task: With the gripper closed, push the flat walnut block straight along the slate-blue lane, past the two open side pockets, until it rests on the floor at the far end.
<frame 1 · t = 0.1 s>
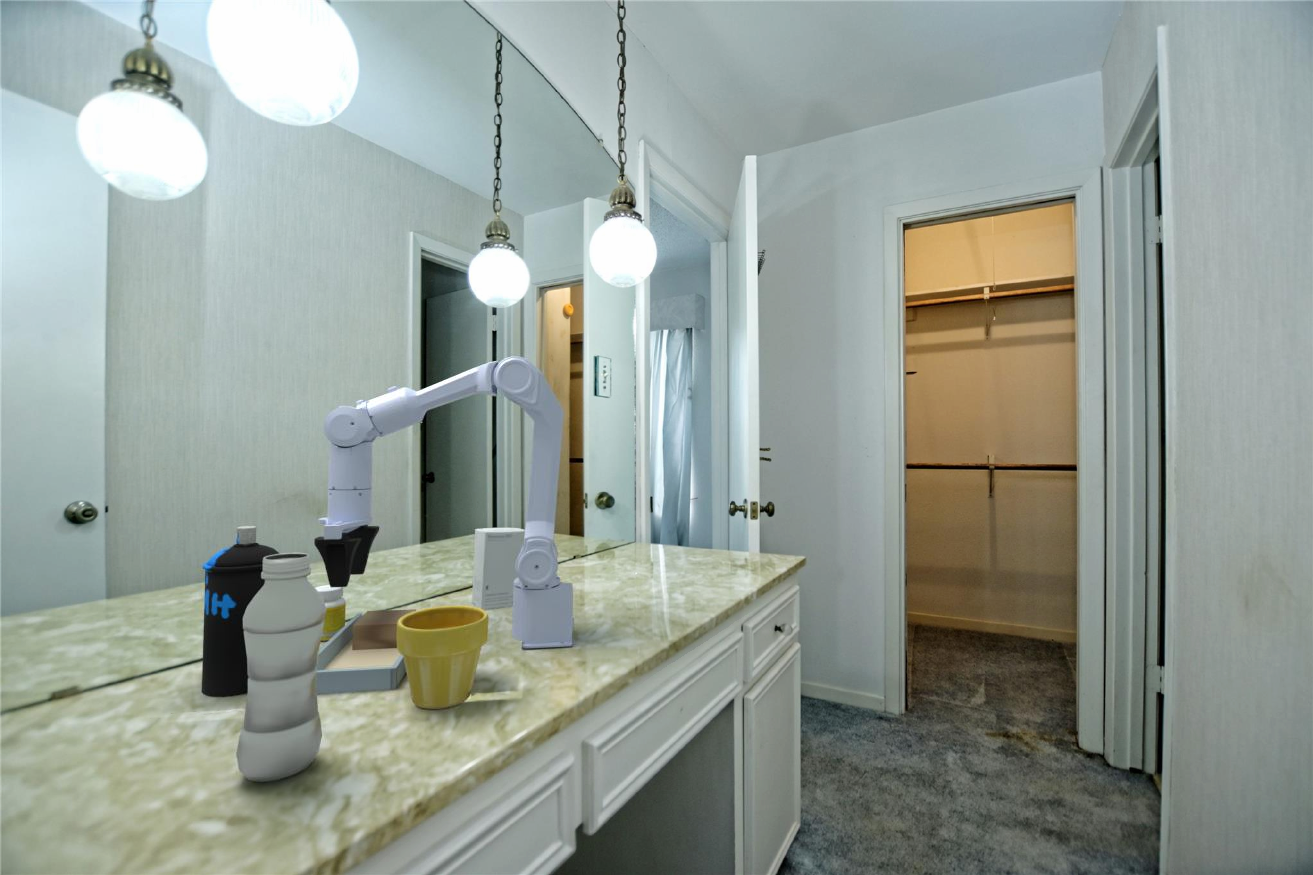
hand: (347, 580, 84), 10 cm above the worktop, tool pointing down, fingers open, 7 cm apart
plant pot: (441, 698, 68), on the worktop
plastic bottle: (280, 773, 52), on the worktop
aerosol can: (241, 692, 69), on the worktop
supplement bottle: (326, 644, 85), on the worktop
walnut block: (385, 640, 84), point 1 cm above the worktop, touching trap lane
skincare box: (498, 609, 105), on the worktop
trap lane: (377, 657, 80), on the worktop
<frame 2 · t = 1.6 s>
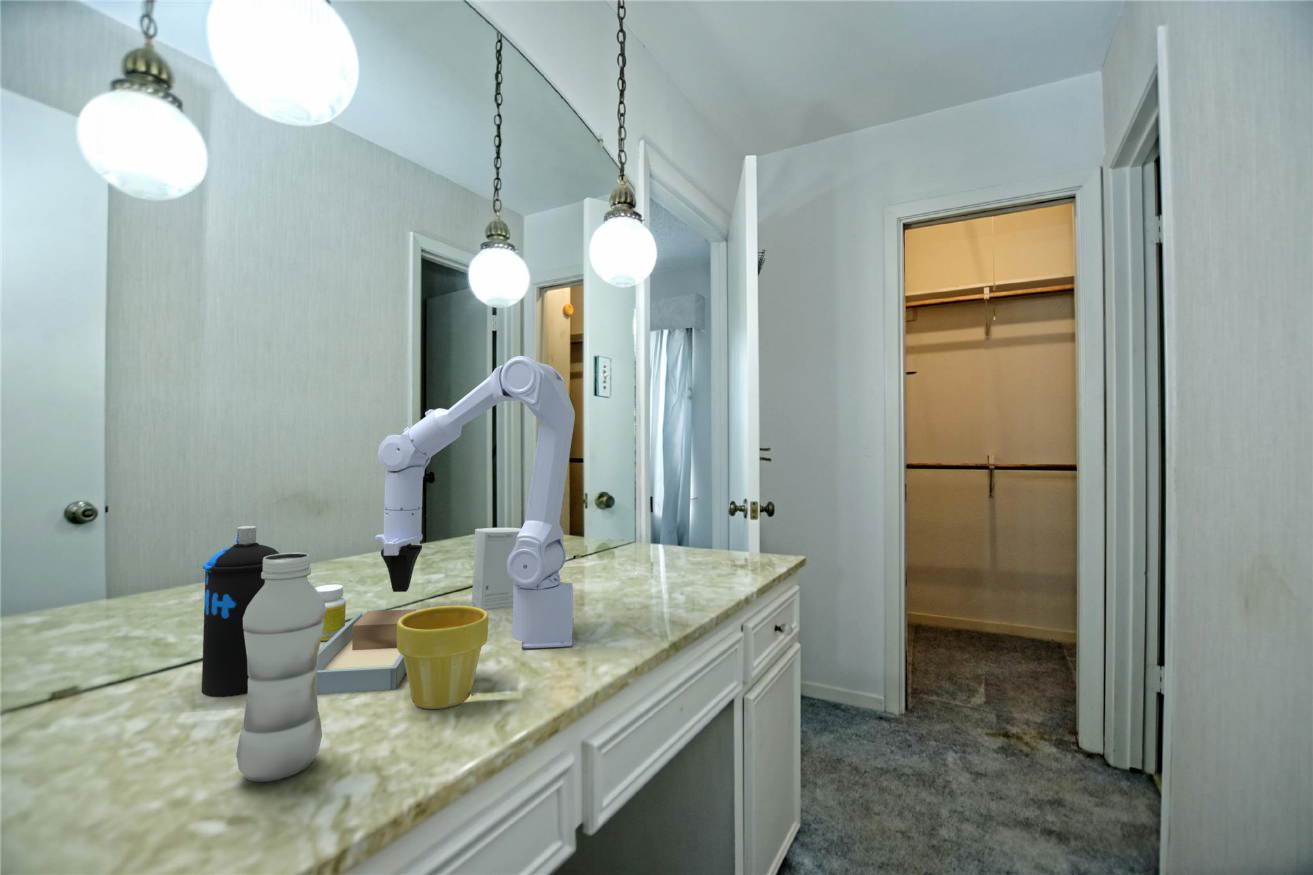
hand: (400, 590, 93), 6 cm above the worktop, tool pointing down, fingers closed
nothing on the worktop moved.
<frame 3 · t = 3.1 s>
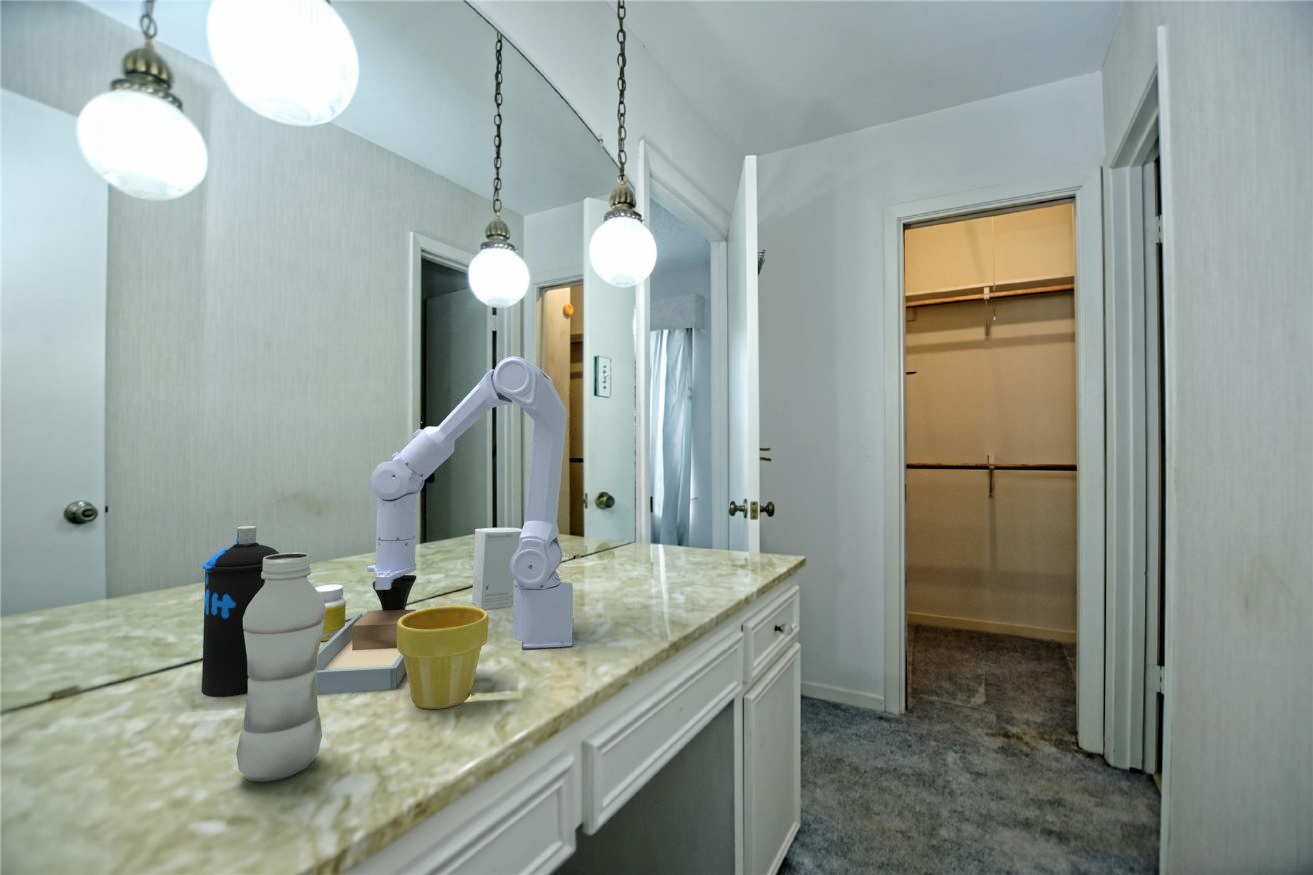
hand: (393, 624, 89), 2 cm above the worktop, tool pointing down, fingers closed
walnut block: (385, 640, 84), point 1 cm above the worktop, touching gripper, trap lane
everything else where it was.
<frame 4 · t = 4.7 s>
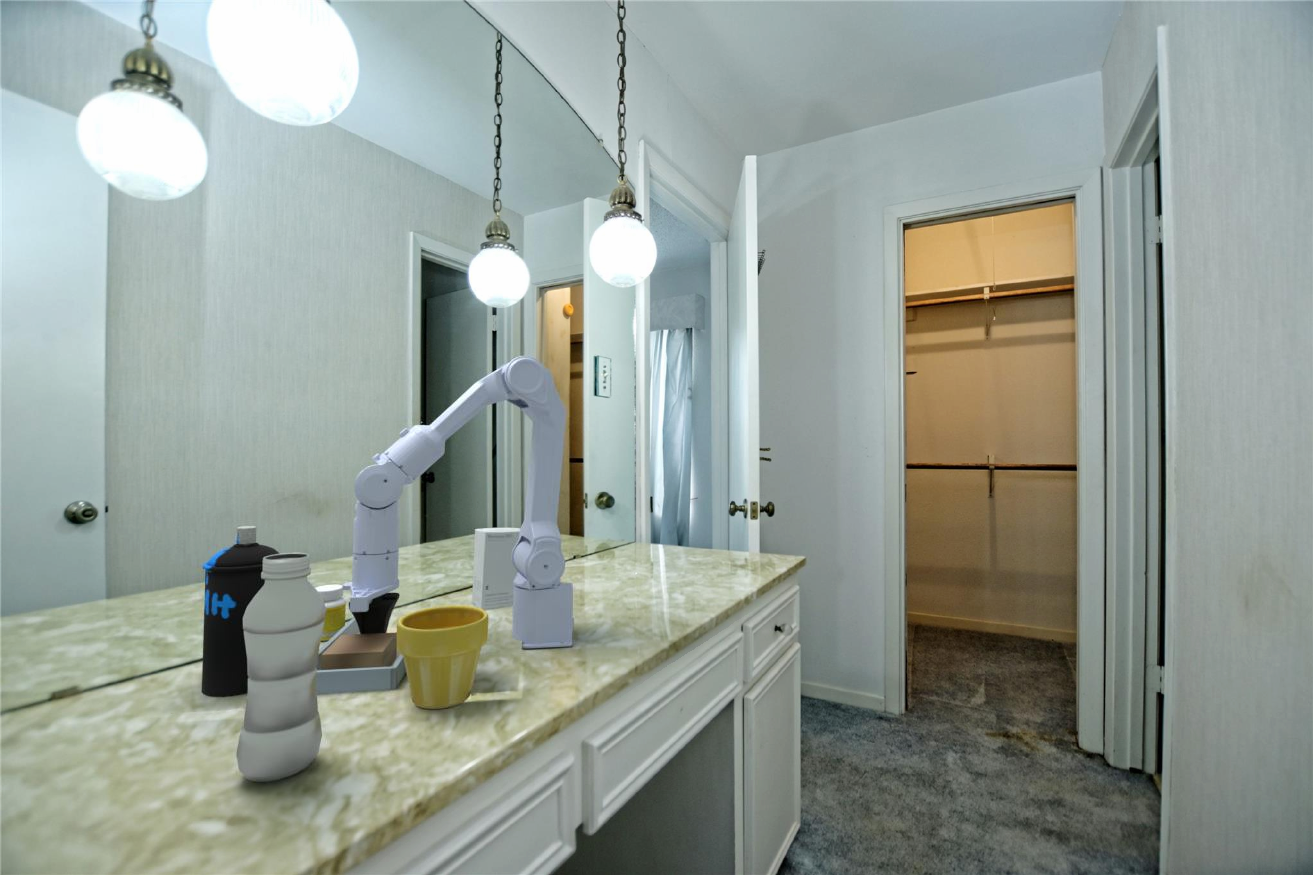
hand: (373, 649, 78), 2 cm above the worktop, tool pointing down, fingers closed
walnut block: (360, 669, 73), point 1 cm above the worktop, touching gripper, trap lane
everything else where it was.
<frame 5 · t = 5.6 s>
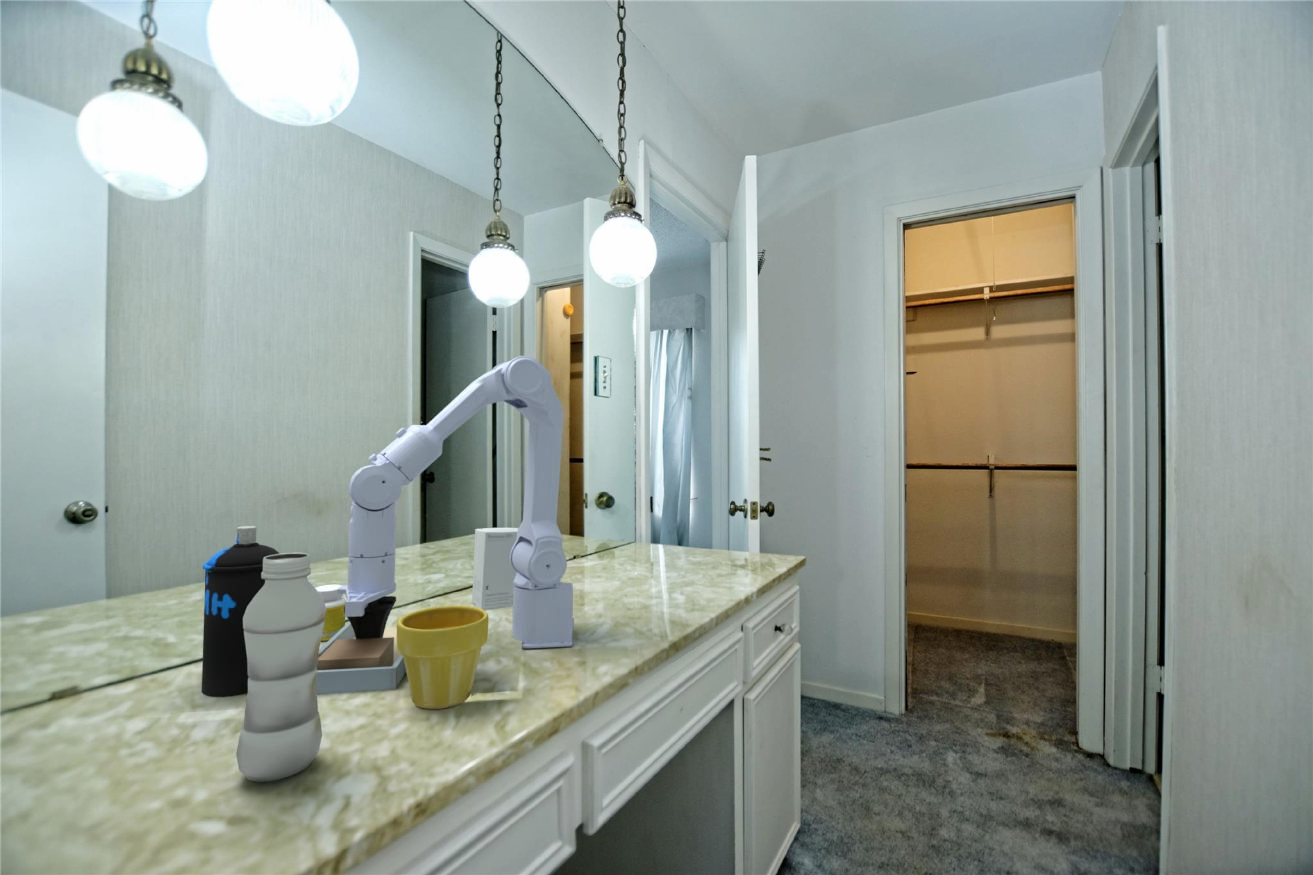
hand: (369, 654, 76), 2 cm above the worktop, tool pointing down, fingers closed
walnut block: (356, 675, 71), point 1 cm above the worktop, touching gripper, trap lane
everything else where it was.
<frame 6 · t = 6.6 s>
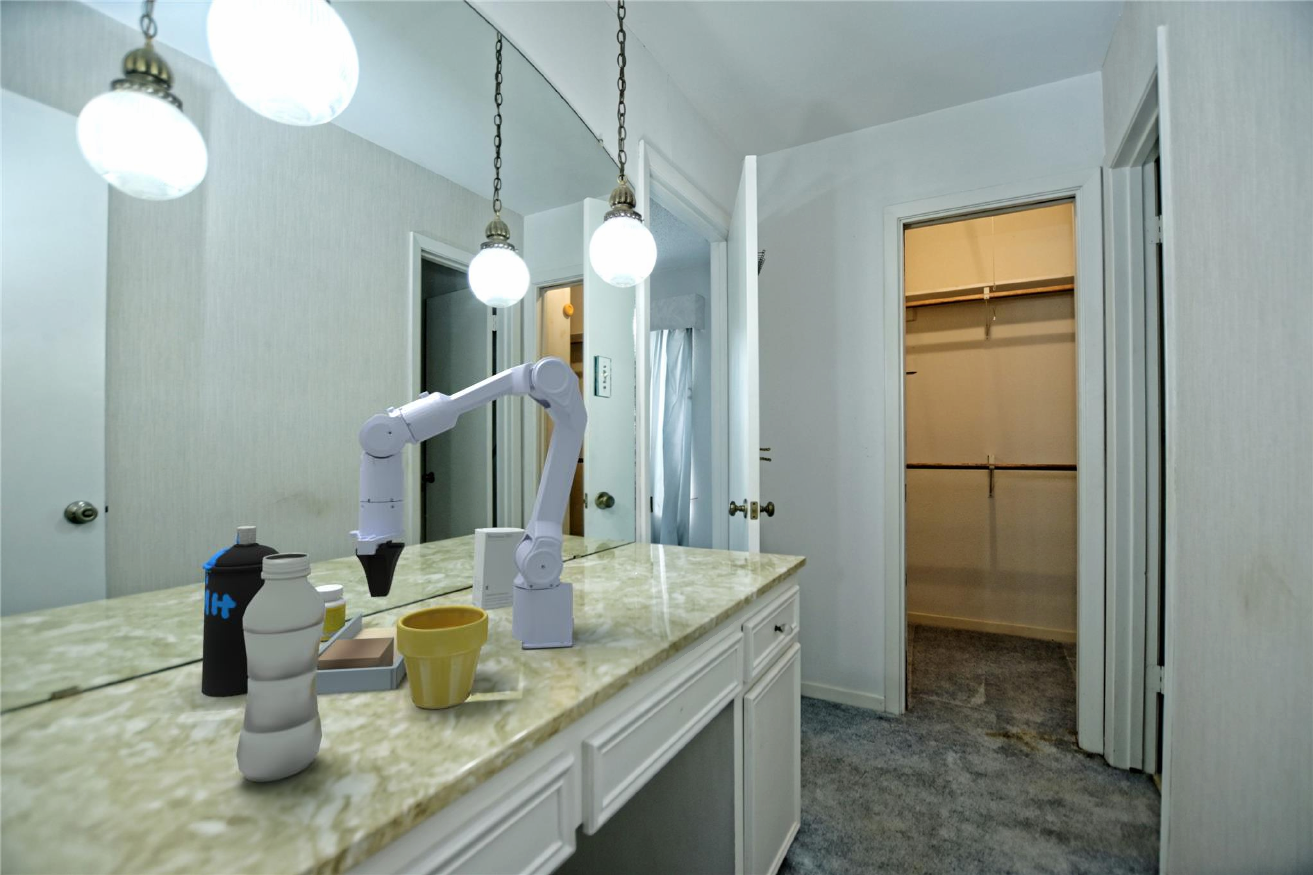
hand: (379, 595, 80), 9 cm above the worktop, tool pointing down, fingers closed
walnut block: (356, 675, 71), point 1 cm above the worktop, touching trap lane
everything else where it was.
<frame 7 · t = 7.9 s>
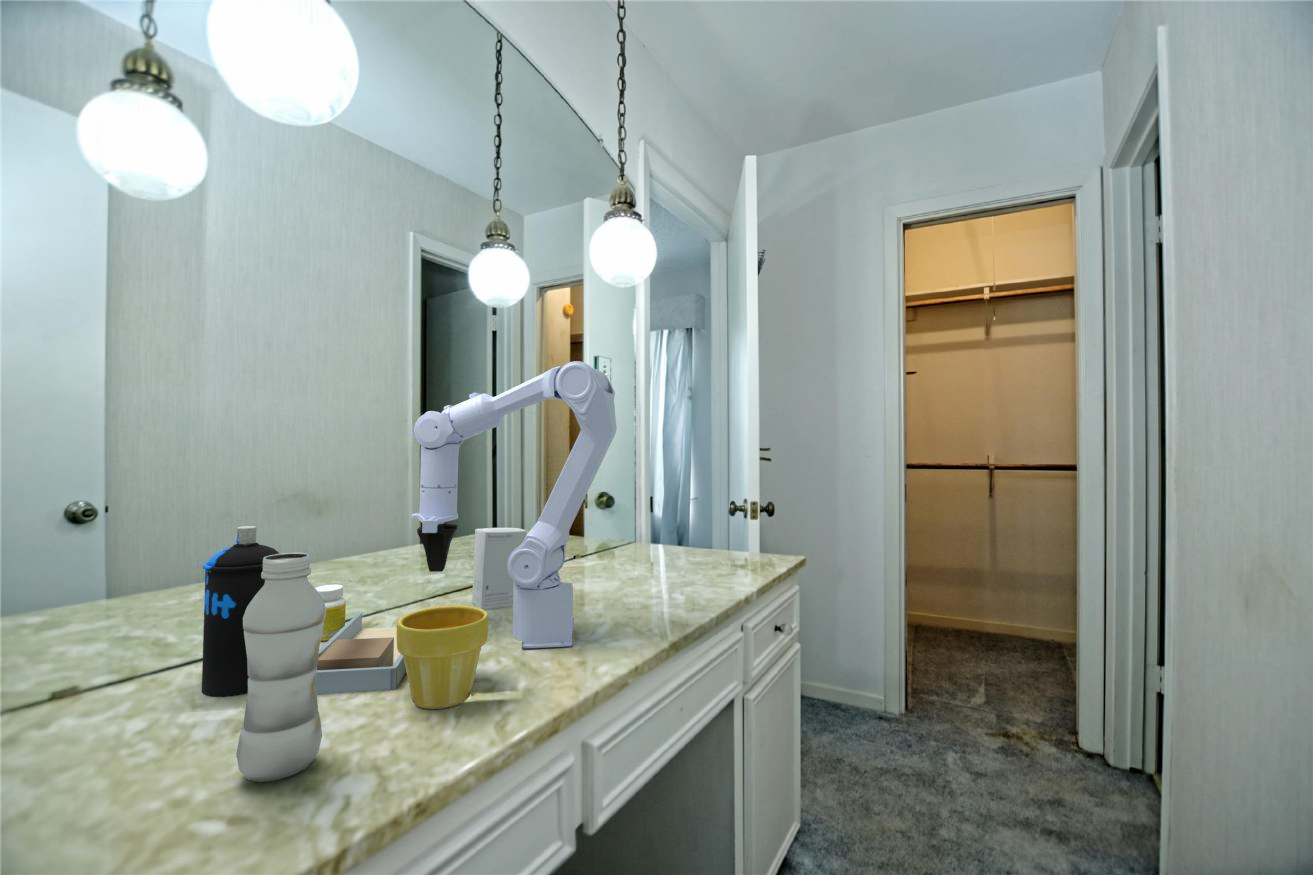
hand: (436, 570, 91), 10 cm above the worktop, tool pointing down, fingers closed
nothing on the worktop moved.
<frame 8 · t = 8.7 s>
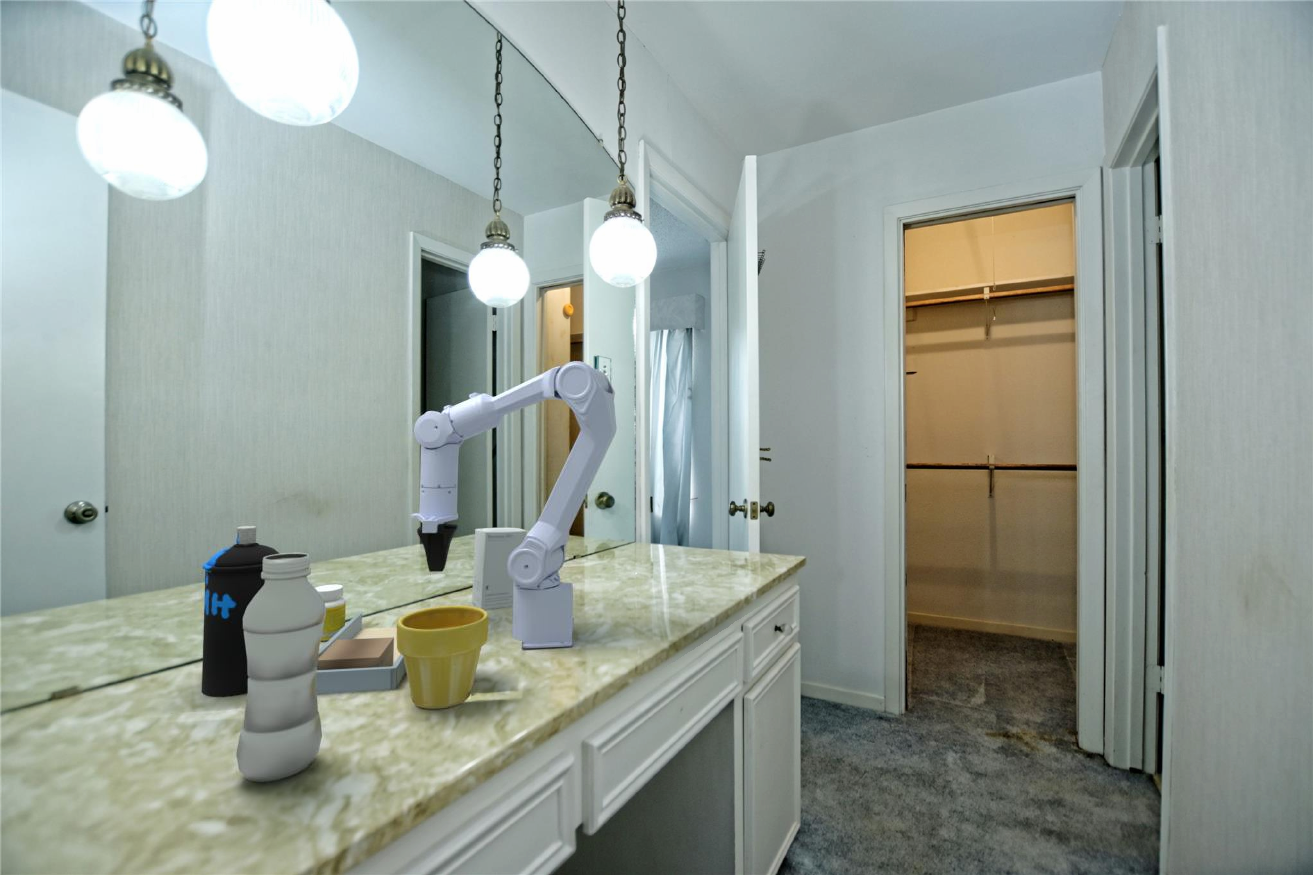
hand: (436, 570, 91), 10 cm above the worktop, tool pointing down, fingers closed
nothing on the worktop moved.
at the end: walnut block 0.6 cm from the target spot on the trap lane, point 1.0 cm above the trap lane's base; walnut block tilted 0° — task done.
